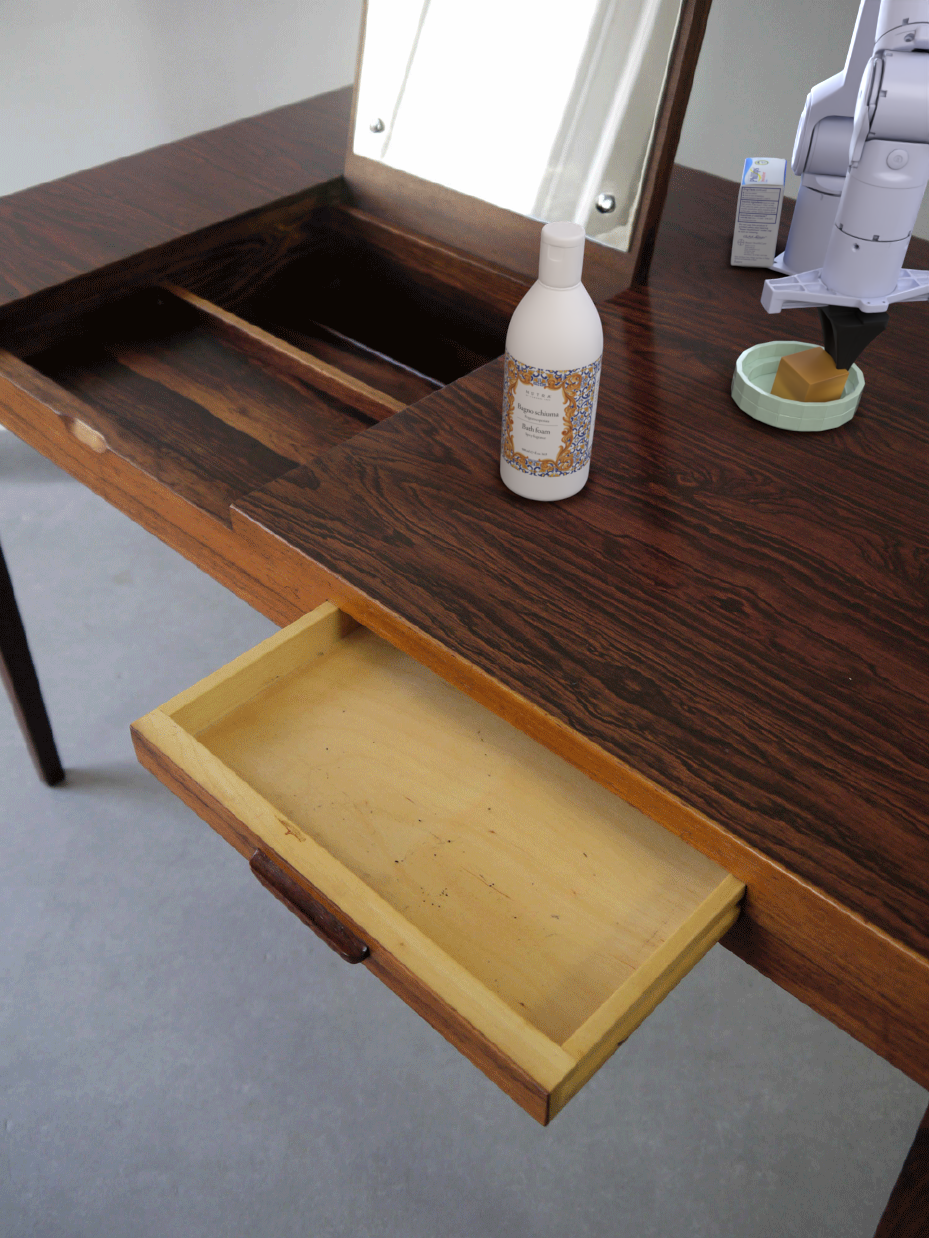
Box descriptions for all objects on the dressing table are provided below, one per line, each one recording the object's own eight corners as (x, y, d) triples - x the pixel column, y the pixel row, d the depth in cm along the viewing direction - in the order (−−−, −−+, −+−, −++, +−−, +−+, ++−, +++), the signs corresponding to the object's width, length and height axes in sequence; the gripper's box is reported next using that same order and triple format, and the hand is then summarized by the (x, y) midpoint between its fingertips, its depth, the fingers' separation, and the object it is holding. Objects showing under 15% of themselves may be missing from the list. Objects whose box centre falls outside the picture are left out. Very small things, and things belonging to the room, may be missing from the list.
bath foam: (486, 492, 82) (495, 241, 68) (516, 445, 86) (530, 201, 73) (572, 513, 80) (599, 259, 66) (598, 464, 85) (628, 218, 71)
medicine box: (772, 270, 110) (786, 185, 104) (728, 267, 111) (740, 183, 105) (775, 239, 116) (788, 157, 110) (733, 236, 117) (744, 155, 111)
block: (807, 384, 92) (820, 345, 89) (835, 411, 90) (849, 372, 87) (769, 395, 91) (781, 356, 88) (796, 423, 88) (809, 384, 85)
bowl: (764, 358, 97) (771, 328, 95) (875, 398, 92) (885, 368, 90) (707, 405, 91) (713, 375, 89) (822, 451, 86) (832, 420, 84)
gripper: (799, 254, 76) (761, 414, 86) (989, 244, 78) (931, 403, 87) (767, 213, 81) (735, 368, 91) (946, 205, 83) (896, 359, 92)
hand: (829, 382), depth 89 cm, fingers closed, pressing on block
